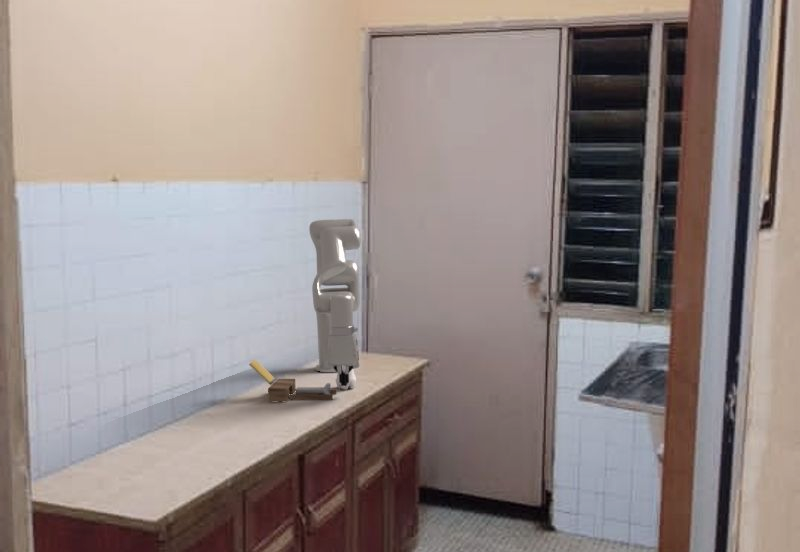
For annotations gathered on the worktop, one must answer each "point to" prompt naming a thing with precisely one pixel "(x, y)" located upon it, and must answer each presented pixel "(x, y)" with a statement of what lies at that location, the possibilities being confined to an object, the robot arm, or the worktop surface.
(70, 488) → the worktop surface
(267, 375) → the yellow grey-edged tile
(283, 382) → the block
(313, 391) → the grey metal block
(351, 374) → the water bottle
